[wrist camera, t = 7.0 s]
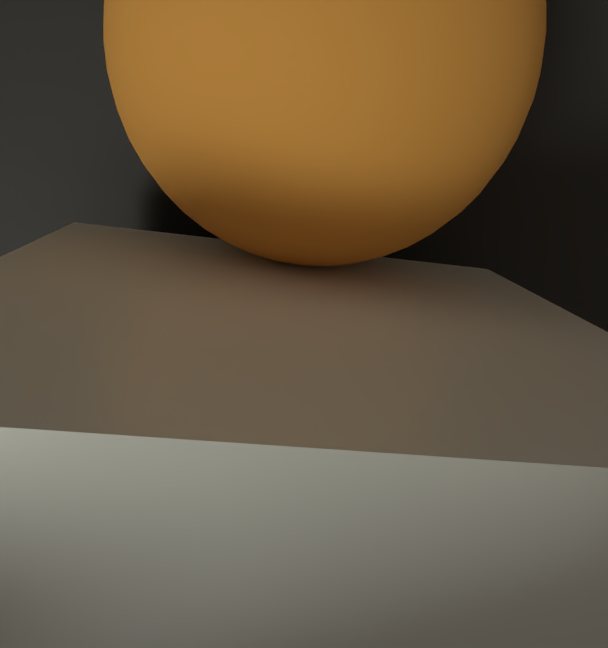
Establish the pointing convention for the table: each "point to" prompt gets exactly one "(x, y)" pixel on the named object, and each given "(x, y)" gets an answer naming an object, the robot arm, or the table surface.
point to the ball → (323, 113)
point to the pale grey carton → (293, 452)
